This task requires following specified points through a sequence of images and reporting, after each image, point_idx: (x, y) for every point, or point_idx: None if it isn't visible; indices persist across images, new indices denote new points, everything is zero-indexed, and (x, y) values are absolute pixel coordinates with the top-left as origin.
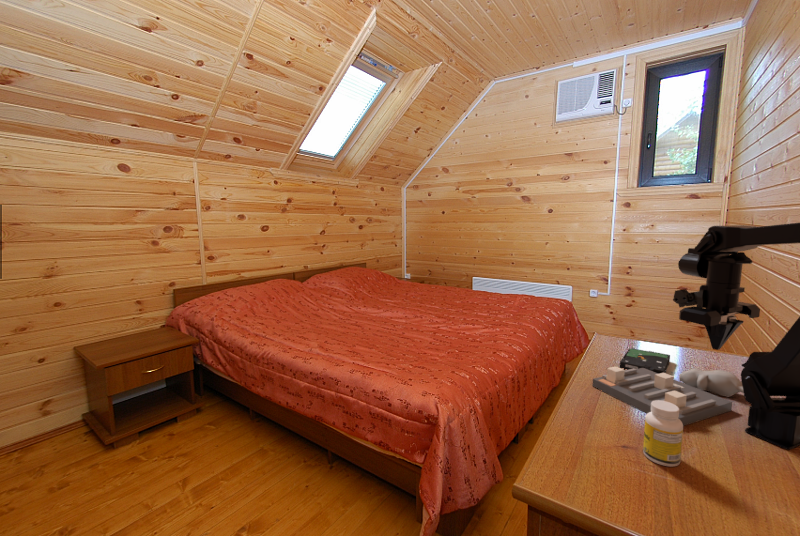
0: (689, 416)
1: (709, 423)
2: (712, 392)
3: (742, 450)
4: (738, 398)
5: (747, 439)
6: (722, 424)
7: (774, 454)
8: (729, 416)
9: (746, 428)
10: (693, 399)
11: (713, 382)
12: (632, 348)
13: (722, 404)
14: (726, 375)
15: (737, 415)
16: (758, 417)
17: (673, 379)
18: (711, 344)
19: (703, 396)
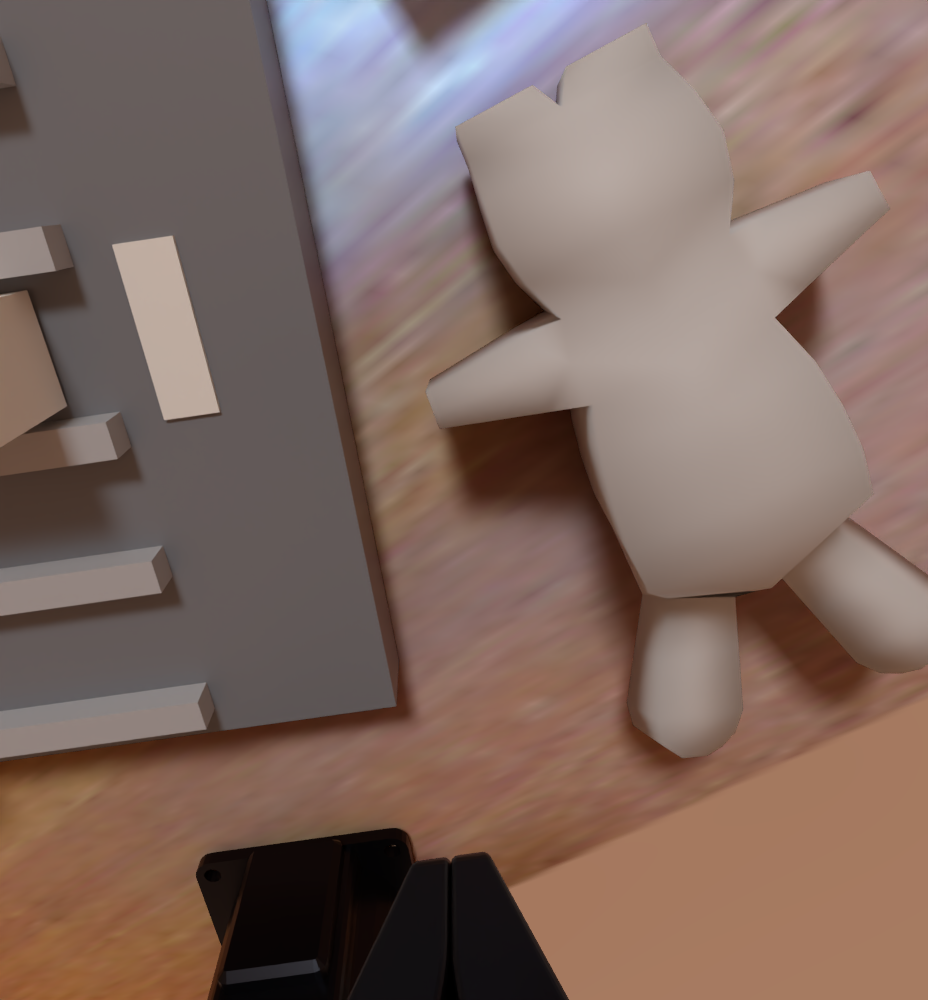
0: None
1: None
2: (570, 410)
3: (9, 954)
4: None
5: (142, 898)
6: (145, 771)
7: (149, 995)
8: None
9: (213, 865)
10: (96, 613)
11: (587, 445)
12: None
13: (269, 720)
14: (700, 540)
15: (371, 713)
16: (211, 992)
17: (5, 440)
18: (381, 935)
19: (244, 589)
